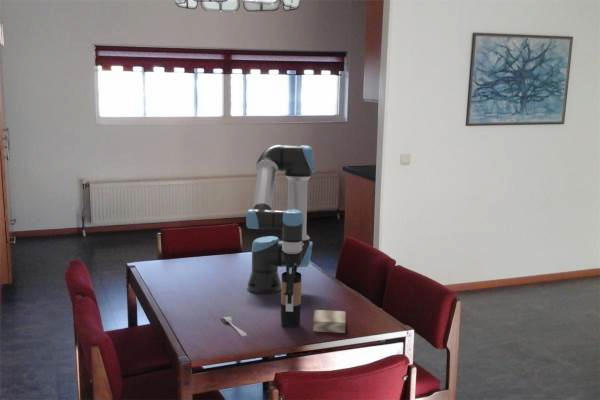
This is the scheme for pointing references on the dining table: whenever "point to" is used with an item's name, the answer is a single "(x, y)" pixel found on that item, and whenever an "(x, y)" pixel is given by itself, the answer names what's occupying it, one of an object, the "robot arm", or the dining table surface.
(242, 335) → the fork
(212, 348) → the dining table surface
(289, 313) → the travel mug
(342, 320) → the stand
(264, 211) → the robot arm
